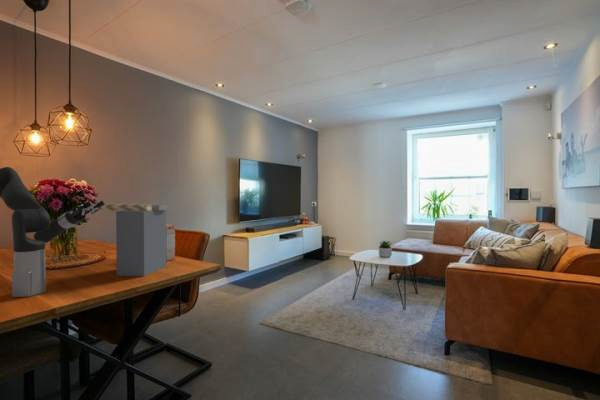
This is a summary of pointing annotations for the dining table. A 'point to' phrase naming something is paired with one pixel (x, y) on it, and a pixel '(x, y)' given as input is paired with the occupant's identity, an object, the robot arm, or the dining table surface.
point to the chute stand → (141, 241)
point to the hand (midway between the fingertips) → (97, 202)
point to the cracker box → (170, 242)
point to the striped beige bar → (128, 207)
